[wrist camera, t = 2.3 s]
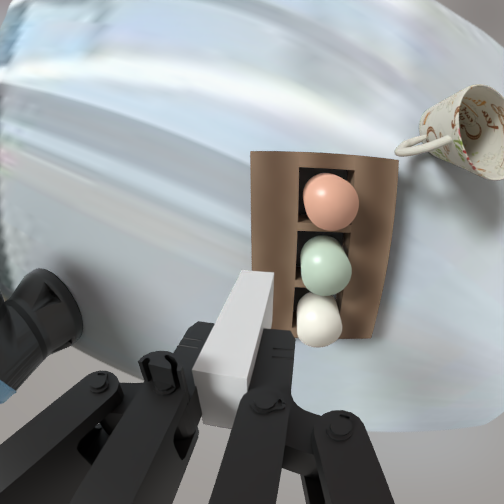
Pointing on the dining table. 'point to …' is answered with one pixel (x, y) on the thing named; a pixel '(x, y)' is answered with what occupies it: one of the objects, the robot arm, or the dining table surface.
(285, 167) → the button panel
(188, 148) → the dining table surface
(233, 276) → the dining table surface
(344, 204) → the button terracotta
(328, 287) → the button sage
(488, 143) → the mug
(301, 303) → the button cream
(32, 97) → the dining table surface
